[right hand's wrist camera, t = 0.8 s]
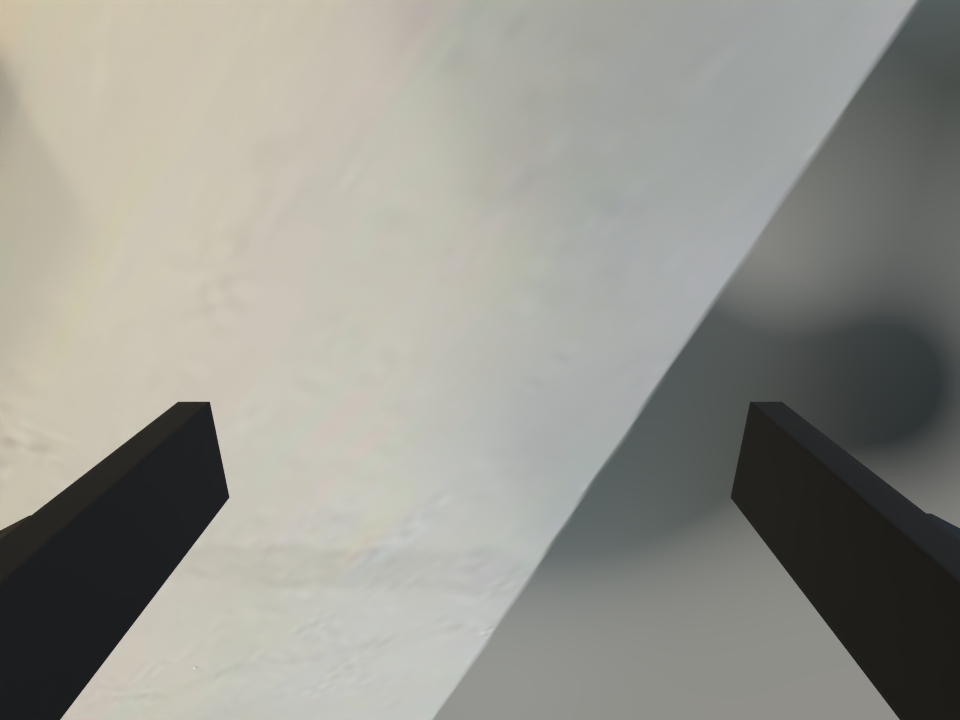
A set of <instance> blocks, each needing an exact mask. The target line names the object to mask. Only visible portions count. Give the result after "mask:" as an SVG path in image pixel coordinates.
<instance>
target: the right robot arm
mask: <svg viewBox="0 0 960 720" xmlns="http://www.w3.org/2000/svg"><path fill="white" fill-rule="evenodd" d="M228 499H229V494H228V489H227V484H226V479H225V474H224V469H223V464H222V459H221V454H220V450H219V445H218V440H217V435H216V430H215V425H214V420H213V415H212V411H211V406H210V402H177V403H176V404H175V405H174V406H172V407H171V408H170V409H168V410H167V411H166V412H164V413H163V414H162V415H161V416H159V417H158V418H157V419H155V420H154V421H153V422H152V423H150V424H149V425H148V426H146V427H145V428H144V429H142V430H141V431H140V432H139V433H137V434H136V435H135V436H133V437H132V438H131V439H130V440H128V441H127V442H126V443H124V444H123V445H122V446H121V447H119V448H118V449H117V450H115V451H114V452H113V453H111V454H110V455H109V456H108V457H106V458H105V459H104V460H102V461H101V462H100V463H99V464H97V465H96V466H95V467H93V468H92V469H91V470H90V471H88V472H87V473H86V474H84V475H83V476H82V477H80V478H79V479H78V480H77V481H75V482H74V483H73V484H71V485H70V486H69V487H68V488H66V489H65V490H64V491H62V492H61V493H60V494H58V495H57V496H56V497H55V498H53V499H52V500H51V501H49V502H48V503H47V504H46V505H44V506H43V507H42V508H40V509H39V510H38V511H37V512H35V513H34V514H33V515H31V516H28V517H26V518H24V519H22V520H20V521H18V522H16V523H14V524H12V525H10V526H8V527H6V528H5V529H3V530H1V531H0V720H60V719H61V718H62V716H63V715H64V714H65V713H66V711H67V710H68V709H69V707H70V706H71V705H72V703H73V702H74V701H75V699H76V698H77V697H78V695H79V694H80V693H81V691H82V690H83V689H84V688H85V686H86V685H87V684H88V682H89V681H90V680H91V678H92V677H93V676H94V674H95V673H96V672H97V670H98V669H99V668H100V667H101V665H102V664H103V663H104V661H105V660H106V659H107V657H108V656H109V655H110V653H111V652H112V651H113V649H114V648H115V647H116V646H117V644H118V643H119V642H120V640H121V639H122V638H123V636H124V635H125V634H126V632H127V631H128V630H129V628H130V627H131V626H132V625H133V623H134V622H135V621H136V619H137V618H138V617H139V615H140V614H141V613H142V611H143V610H144V609H145V607H146V606H147V605H148V604H149V602H150V601H151V600H152V598H153V597H154V596H155V594H156V593H157V592H158V590H159V589H160V588H161V586H162V585H163V584H164V583H165V581H166V580H167V579H168V577H169V576H170V575H171V573H172V572H173V571H174V569H175V568H176V567H177V565H178V564H179V563H180V562H181V560H182V559H183V558H184V556H185V555H186V554H187V552H188V551H189V550H190V548H191V547H192V546H193V544H194V543H195V542H196V541H197V539H198V538H199V537H200V535H201V534H202V533H203V531H204V530H205V529H206V527H207V526H208V525H209V523H210V522H211V521H212V520H213V518H214V517H215V516H216V514H217V513H218V512H219V510H220V509H221V508H222V506H223V505H224V504H225V502H226V501H227V500H228ZM731 499H732V500H733V501H734V502H735V504H736V505H737V506H738V508H739V509H740V510H741V512H742V513H743V514H744V516H745V517H746V518H747V519H748V521H749V522H750V523H751V525H752V526H753V527H754V529H755V530H756V531H757V533H758V534H759V535H760V537H761V538H762V539H763V541H764V542H765V543H766V544H767V546H768V547H769V548H770V550H771V551H772V552H773V554H774V555H775V556H776V558H777V559H778V560H779V561H780V563H781V564H782V565H783V567H784V568H785V569H786V571H787V572H788V573H789V575H790V576H791V577H792V579H793V580H794V581H795V582H796V584H797V585H798V586H799V588H800V589H801V590H802V592H803V593H804V594H805V596H806V597H807V598H808V600H809V601H810V602H811V604H812V605H813V606H814V607H815V609H816V610H817V611H818V613H819V614H820V615H821V617H822V618H823V619H824V621H825V622H826V623H827V624H828V626H829V627H830V628H831V630H832V631H833V632H834V634H835V635H836V636H837V638H838V639H839V640H840V642H841V643H842V644H843V645H844V647H845V648H846V649H847V651H848V652H849V653H850V655H851V656H852V657H853V659H854V660H855V661H856V663H857V664H858V665H859V667H860V668H861V669H862V670H863V672H864V673H865V674H866V676H867V677H868V678H869V680H870V681H871V682H872V684H873V685H874V686H875V688H876V689H877V690H878V691H879V693H880V694H881V695H882V697H883V698H884V699H885V701H886V702H887V703H888V705H889V706H890V707H891V709H892V710H893V711H894V713H895V714H896V715H897V716H898V718H899V719H900V720H960V528H958V527H956V526H954V525H952V524H950V523H948V522H946V521H944V520H942V519H940V518H939V517H937V516H935V515H933V514H926V513H925V512H923V511H922V510H921V509H920V508H918V507H917V506H916V505H914V504H913V503H912V502H911V501H909V500H908V499H907V498H905V497H904V496H903V495H901V494H900V493H899V492H898V491H896V490H895V489H894V488H892V487H891V486H890V485H889V484H887V483H886V482H885V481H883V480H882V479H881V478H880V477H878V476H877V475H876V474H874V473H873V472H872V471H870V470H869V469H868V468H867V467H865V466H864V465H863V464H861V463H860V462H859V461H858V460H856V459H855V458H854V457H852V456H851V455H850V454H848V453H847V452H846V451H845V450H843V449H842V448H841V447H839V446H838V445H837V444H836V443H834V442H833V441H832V440H830V439H829V438H828V437H827V436H825V435H824V434H823V433H821V432H820V431H819V430H818V429H816V428H815V427H814V426H812V425H811V424H810V423H808V422H807V421H806V420H805V419H803V418H802V417H801V416H799V415H798V414H797V413H795V412H794V411H793V410H792V409H790V408H789V407H788V406H786V405H785V404H784V403H783V402H750V406H749V411H748V415H747V420H746V425H745V430H744V435H743V440H742V445H741V450H740V455H739V459H738V464H737V469H736V474H735V479H734V484H733V489H732V494H731Z"/></svg>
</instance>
